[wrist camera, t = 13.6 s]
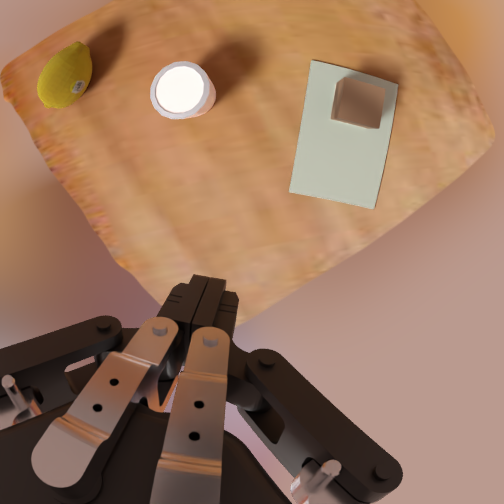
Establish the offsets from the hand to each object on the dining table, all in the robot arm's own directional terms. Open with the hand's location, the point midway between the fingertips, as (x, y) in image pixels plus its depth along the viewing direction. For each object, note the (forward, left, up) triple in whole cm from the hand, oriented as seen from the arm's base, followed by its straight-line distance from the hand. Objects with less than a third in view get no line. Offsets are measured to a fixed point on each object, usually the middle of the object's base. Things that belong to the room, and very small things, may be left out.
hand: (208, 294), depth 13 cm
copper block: (-13, +11, -22) cm, 28 cm away
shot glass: (-11, -9, -27) cm, 31 cm away
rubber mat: (-9, +11, -27) cm, 31 cm away
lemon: (-14, -28, -27) cm, 41 cm away
